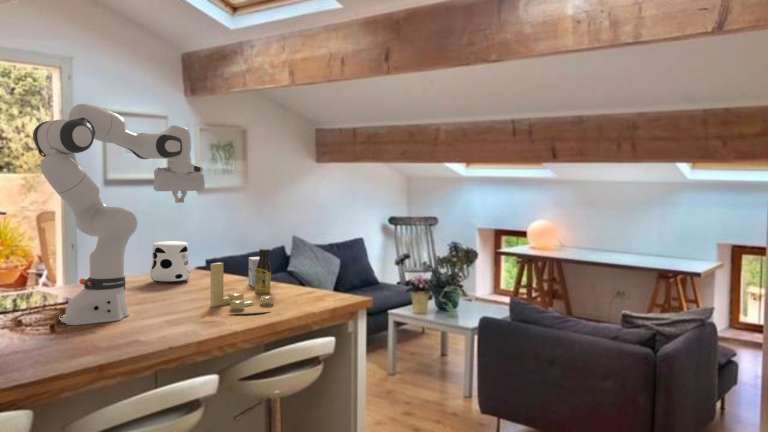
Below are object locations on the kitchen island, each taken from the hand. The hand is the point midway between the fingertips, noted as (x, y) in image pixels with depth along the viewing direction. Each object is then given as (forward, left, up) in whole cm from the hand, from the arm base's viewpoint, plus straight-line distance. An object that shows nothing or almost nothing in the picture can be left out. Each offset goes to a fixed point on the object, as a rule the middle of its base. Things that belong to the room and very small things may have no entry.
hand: (179, 202), depth 251 cm
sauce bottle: (+30, -14, -39) cm, 51 cm away
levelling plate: (+11, -30, -39) cm, 51 cm away
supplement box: (+42, +7, -39) cm, 58 cm away
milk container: (+16, +39, -39) cm, 58 cm away
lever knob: (+7, -23, -38) cm, 45 cm away
